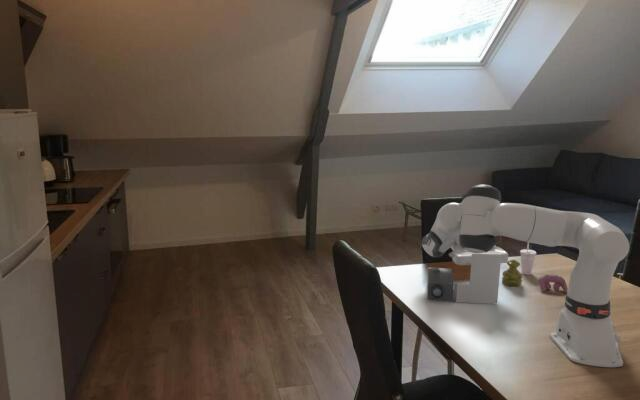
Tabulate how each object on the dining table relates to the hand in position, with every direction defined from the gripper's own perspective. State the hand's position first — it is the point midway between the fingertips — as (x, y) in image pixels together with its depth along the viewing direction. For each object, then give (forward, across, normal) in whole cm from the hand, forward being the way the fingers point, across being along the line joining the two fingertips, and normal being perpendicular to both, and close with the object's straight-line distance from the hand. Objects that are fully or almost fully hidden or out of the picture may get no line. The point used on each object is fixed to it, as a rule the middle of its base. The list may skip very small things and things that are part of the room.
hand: (489, 264), depth 176 cm
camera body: (-11, -14, +15) cm, 23 cm away
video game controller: (-8, +31, +15) cm, 35 cm away
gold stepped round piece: (-16, +18, +15) cm, 28 cm away
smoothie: (-26, +31, +15) cm, 43 cm away
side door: (0, -4, +15) cm, 15 cm away
